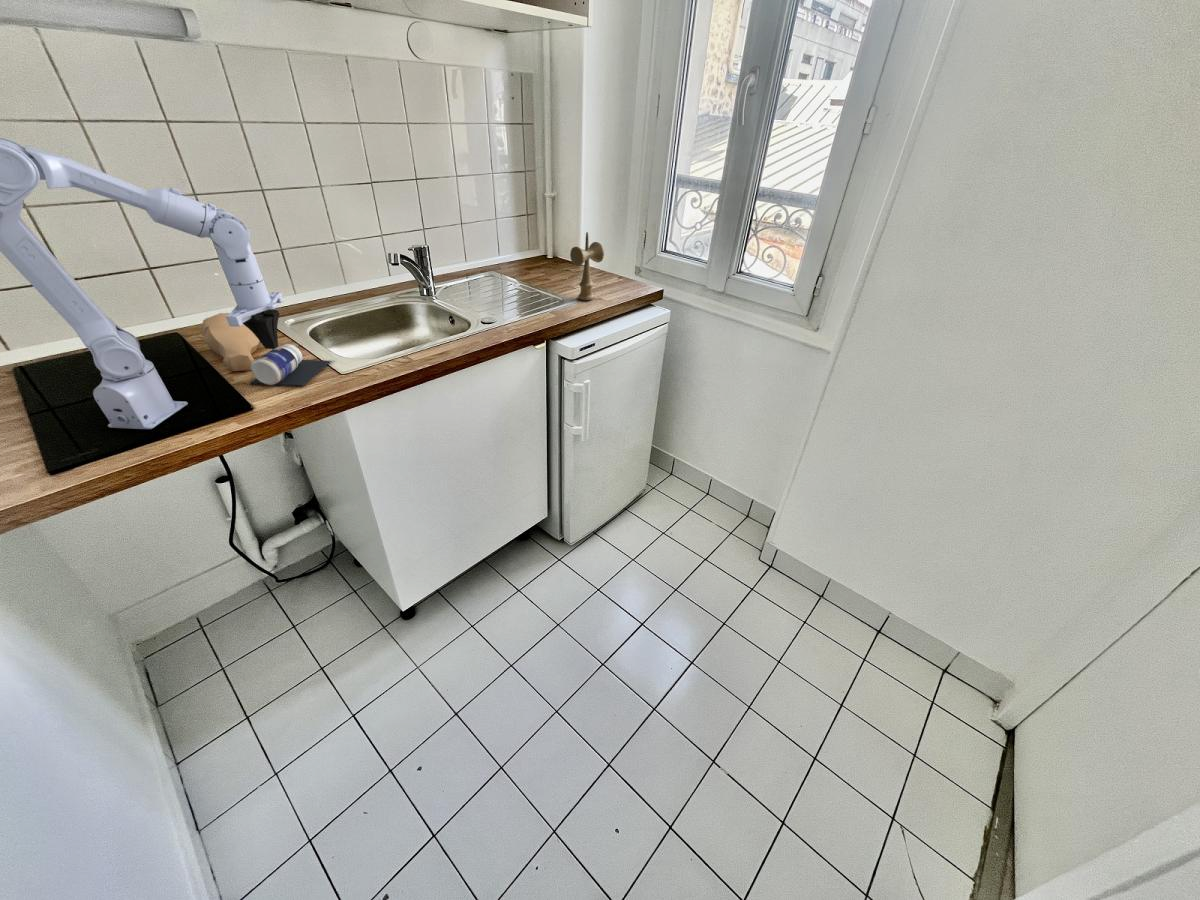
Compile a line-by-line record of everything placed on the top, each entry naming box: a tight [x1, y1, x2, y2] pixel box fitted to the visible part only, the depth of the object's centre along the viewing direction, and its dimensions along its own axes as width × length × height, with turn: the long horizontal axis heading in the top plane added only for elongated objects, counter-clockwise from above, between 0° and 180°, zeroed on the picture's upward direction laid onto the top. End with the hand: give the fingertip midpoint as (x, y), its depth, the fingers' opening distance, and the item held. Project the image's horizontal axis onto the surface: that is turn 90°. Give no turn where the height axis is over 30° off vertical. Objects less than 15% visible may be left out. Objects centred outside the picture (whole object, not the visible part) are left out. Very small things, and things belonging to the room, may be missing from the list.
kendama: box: [570, 231, 605, 301], centre depth 149 cm, size 6×10×20 cm, turn 135°
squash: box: [200, 312, 260, 372], centre depth 111 cm, size 11×20×9 cm, turn 39°
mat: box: [250, 359, 331, 388], centre depth 107 cm, size 12×11×1 cm
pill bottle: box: [250, 343, 303, 386], centre depth 104 cm, size 6×6×10 cm
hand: (271, 347), depth 101 cm, fingers closed
